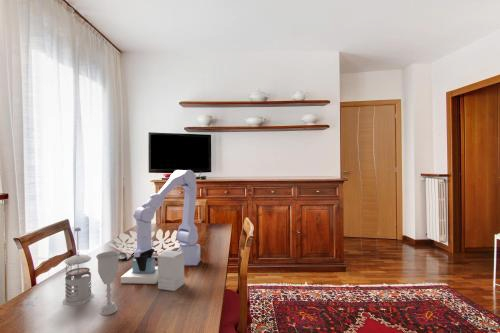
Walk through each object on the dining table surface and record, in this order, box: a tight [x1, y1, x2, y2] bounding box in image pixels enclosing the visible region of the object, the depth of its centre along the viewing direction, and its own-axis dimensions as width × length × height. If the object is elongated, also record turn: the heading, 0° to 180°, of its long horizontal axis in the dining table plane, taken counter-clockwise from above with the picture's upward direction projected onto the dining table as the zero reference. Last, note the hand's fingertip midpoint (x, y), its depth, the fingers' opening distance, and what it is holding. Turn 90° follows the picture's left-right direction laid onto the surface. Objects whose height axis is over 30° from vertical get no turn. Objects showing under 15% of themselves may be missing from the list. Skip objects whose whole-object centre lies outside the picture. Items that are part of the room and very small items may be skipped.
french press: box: [61, 227, 95, 307], centre depth 101 cm, size 10×12×25 cm
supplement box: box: [157, 249, 185, 292], centre depth 110 cm, size 7×7×13 cm
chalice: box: [95, 250, 121, 316], centre depth 92 cm, size 7×7×18 cm
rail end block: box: [131, 257, 156, 274], centre depth 119 cm, size 8×4×7 cm, turn 87°
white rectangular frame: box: [120, 265, 158, 285], centre depth 119 cm, size 14×12×2 cm
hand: (144, 269), depth 119 cm, fingers closed on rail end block, 3 cm apart
